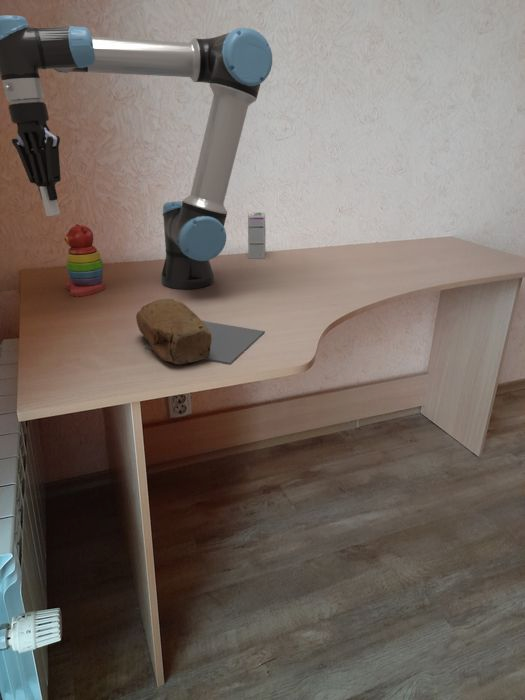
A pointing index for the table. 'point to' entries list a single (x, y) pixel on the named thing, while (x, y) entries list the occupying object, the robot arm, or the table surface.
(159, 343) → the block
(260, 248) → the syrup box
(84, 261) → the stacking bear
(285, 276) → the table surface
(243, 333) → the mat
